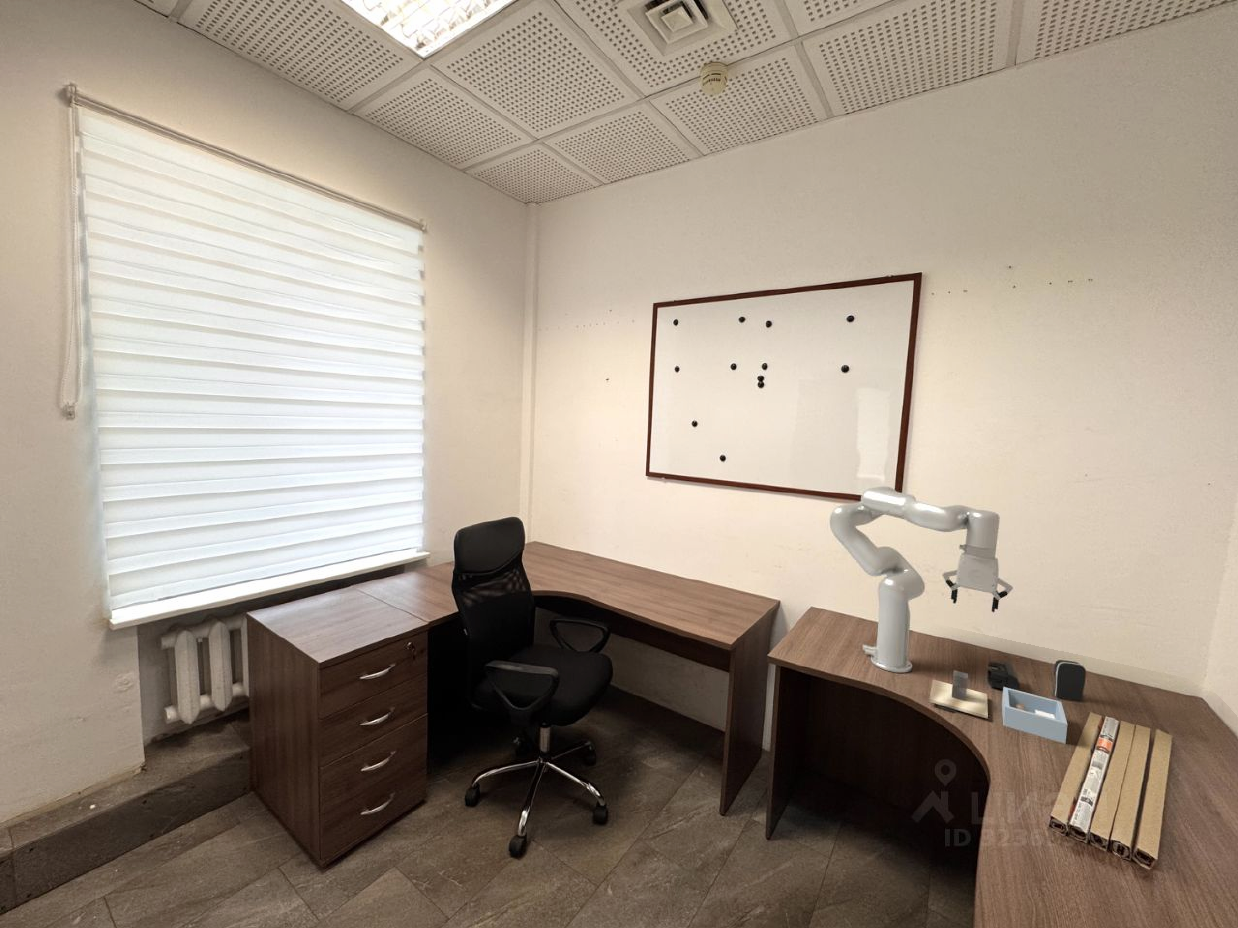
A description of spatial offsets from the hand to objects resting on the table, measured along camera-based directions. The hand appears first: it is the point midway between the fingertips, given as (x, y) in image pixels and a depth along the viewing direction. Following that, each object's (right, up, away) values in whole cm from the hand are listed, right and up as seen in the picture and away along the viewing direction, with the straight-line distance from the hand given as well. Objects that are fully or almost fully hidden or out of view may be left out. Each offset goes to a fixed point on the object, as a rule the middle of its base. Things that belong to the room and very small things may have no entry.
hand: (973, 606), depth 153 cm
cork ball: (+7, -27, -9) cm, 30 cm away
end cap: (+15, -28, +8) cm, 33 cm away
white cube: (+9, -30, -15) cm, 34 cm away
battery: (+31, -29, +3) cm, 42 cm away
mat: (-6, -29, -2) cm, 29 cm away
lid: (-6, -27, -2) cm, 28 cm away
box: (+8, -30, -12) cm, 33 cm away
